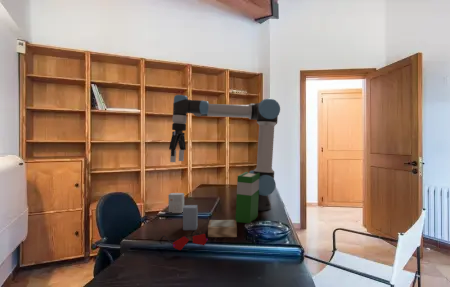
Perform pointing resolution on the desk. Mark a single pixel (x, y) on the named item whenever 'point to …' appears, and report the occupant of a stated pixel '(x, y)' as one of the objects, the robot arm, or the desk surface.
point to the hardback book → (247, 197)
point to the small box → (176, 202)
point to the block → (190, 217)
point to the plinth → (222, 228)
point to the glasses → (183, 240)
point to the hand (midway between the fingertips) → (177, 161)
